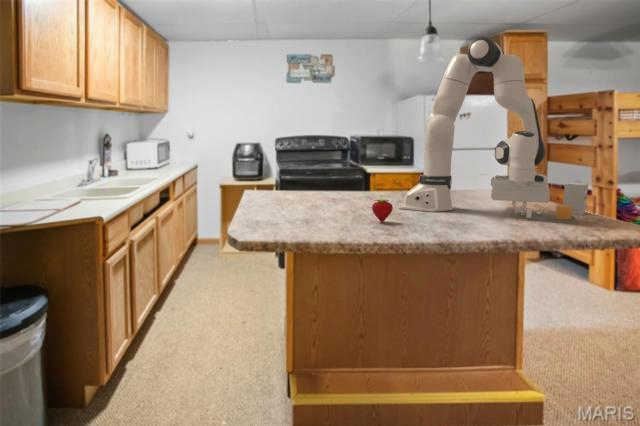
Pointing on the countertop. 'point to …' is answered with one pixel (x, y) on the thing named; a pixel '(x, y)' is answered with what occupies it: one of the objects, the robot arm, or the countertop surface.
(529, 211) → the tagged breaker
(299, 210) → the countertop surface
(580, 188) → the supplement box
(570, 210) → the orange block
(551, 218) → the breaker panel
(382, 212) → the strawberry
